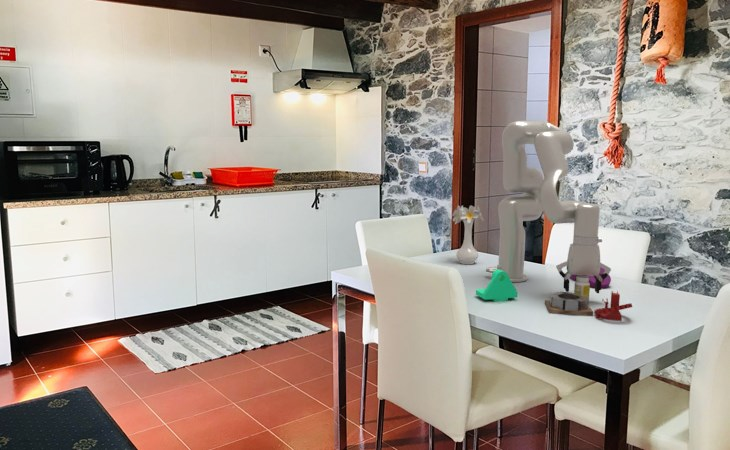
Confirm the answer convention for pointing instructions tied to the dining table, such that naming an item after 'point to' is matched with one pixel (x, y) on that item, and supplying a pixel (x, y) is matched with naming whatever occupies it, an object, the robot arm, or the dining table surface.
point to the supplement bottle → (582, 285)
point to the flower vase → (467, 233)
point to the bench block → (559, 311)
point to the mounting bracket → (592, 279)
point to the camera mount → (498, 288)
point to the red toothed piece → (612, 309)
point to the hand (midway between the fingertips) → (581, 291)
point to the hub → (568, 301)
